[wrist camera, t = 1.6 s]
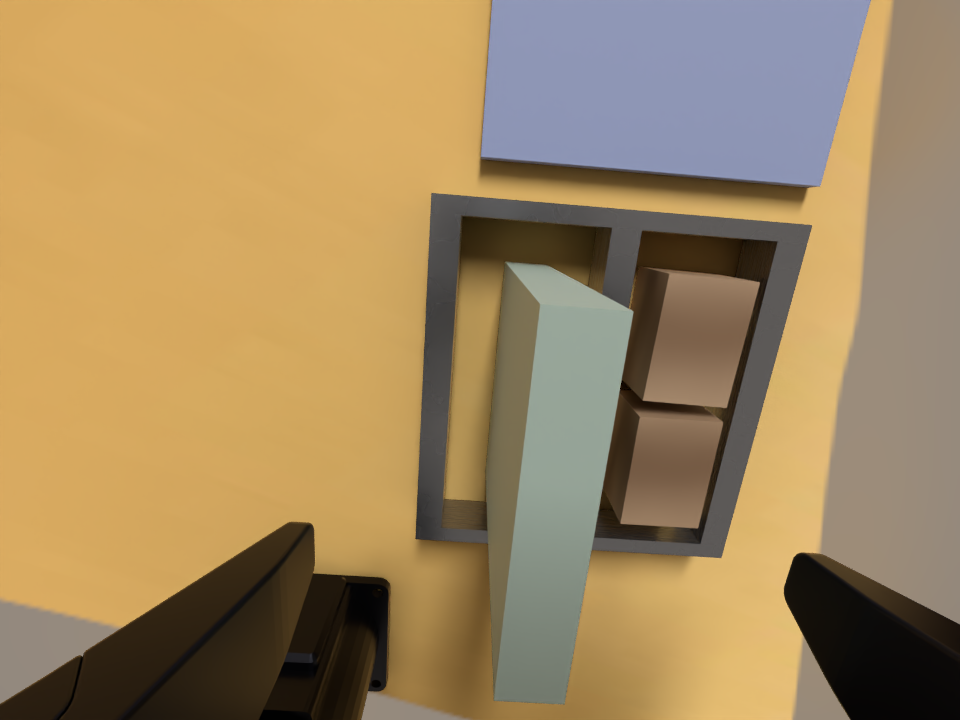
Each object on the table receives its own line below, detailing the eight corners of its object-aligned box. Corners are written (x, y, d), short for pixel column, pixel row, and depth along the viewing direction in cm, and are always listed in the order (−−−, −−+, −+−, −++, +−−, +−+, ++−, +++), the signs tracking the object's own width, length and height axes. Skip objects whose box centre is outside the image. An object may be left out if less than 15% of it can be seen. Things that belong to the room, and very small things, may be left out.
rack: (698, 526, 21) (721, 557, 19) (421, 509, 20) (415, 539, 18) (774, 225, 17) (811, 225, 15) (436, 197, 17) (431, 193, 15)
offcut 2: (666, 485, 20) (698, 528, 17) (599, 481, 20) (620, 523, 17) (686, 392, 19) (723, 422, 16) (614, 388, 19) (640, 416, 16)
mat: (808, 187, 17) (820, 186, 16) (480, 159, 16) (480, 156, 16) (890, -122, 14) (908, -137, 13) (504, -164, 14) (505, -181, 13)
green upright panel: (521, 473, 20) (564, 704, 10) (485, 471, 20) (493, 701, 10) (546, 264, 17) (633, 311, 8) (504, 261, 17) (540, 303, 8)
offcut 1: (688, 380, 19) (726, 408, 16) (617, 374, 19) (642, 400, 16) (713, 273, 18) (759, 282, 15) (637, 265, 17) (669, 273, 15)
